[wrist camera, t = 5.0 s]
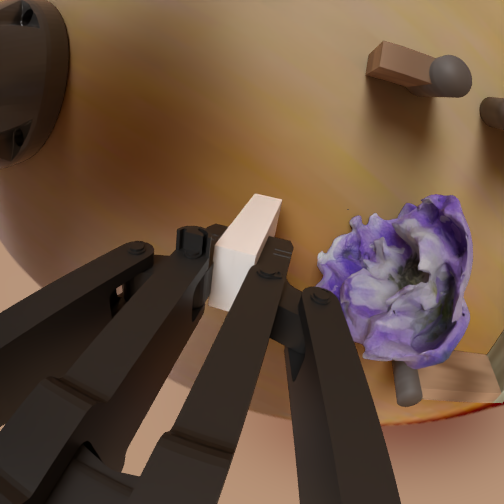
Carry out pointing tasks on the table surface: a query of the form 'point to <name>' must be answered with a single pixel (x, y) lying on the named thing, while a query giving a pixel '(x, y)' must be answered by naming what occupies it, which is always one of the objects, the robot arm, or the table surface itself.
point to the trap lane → (500, 356)
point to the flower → (404, 281)
